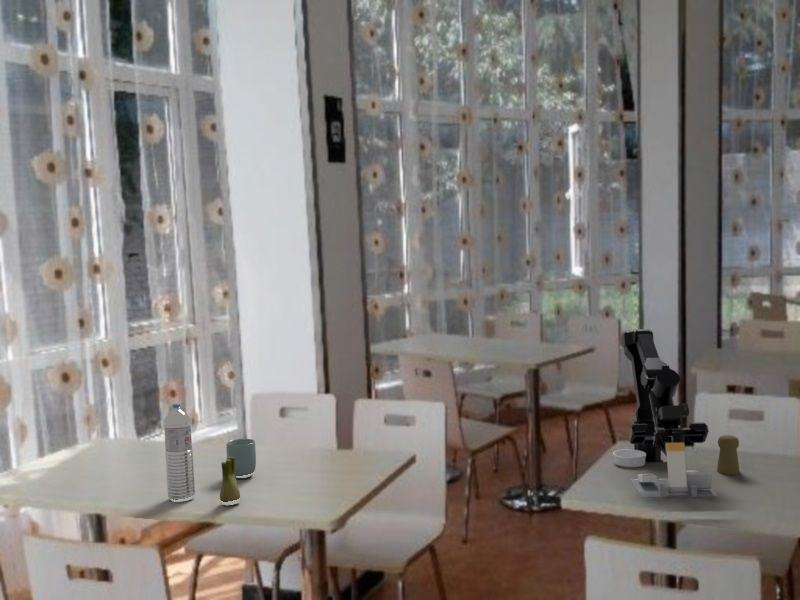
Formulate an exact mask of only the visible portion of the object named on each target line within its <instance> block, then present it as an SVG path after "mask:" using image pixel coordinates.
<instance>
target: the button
mask: <svg viewBox="0 0 800 600" xmlns="http://www.w3.org/2000/svg"><path fill="white" fill-rule="evenodd" d="M686 472H699V471H698V470H694V469H692V470H691V469H690V470H689V469H686Z"/></svg>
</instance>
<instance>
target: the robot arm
mask: <svg viewBox="0 0 800 600" xmlns="http://www.w3.org/2000/svg"><path fill="white" fill-rule="evenodd" d="M654 339H655V337H654V332H653V330H651V329H649V328H645V329H634V330H628V331H627V330H626V331H624V332H623V333H622V334H621V336H620V345H621V348H623V353H624V354H623V355H625V357H626V358H627V360H629V361H630V363H631V369H632V371H631V372H632V378H633V383H634V386H633V387H634V392H635V399H636V408H637V410H636V412H635V414H634V416H633V418H632V422H631V425H630V428H629V433H628V439H629V441H628V442H629V444H631V445H634V446H633V447H634V448H633V450H640V451H643V452H645V453H646V457H645V463H663V462H664V460H663V459H662V453H663V454H664V456H665V457H666V458H667V451H666V443H685V439H686V438H687V441H688V442H690V443H691V444H703V443H704V442H706V439H707V437H708V434H709V431H710V430H709V427H708V424H707V423H706V422H704V421H703V422H690V423H689V426H688V427H681V428H680V427H679V426H681V425H682V419H683V418H687V417H689V416H690V408H689V404H688V403H687V402H685V403H684V402H681V403H679V404H677V405H676V404H674V403H675V402H674V399H673V398H674V397H675V396H676V393H677V390H678V387H679V385H680V380H681V377H680V375H679V374H678V372H677V371H676V370H673V369H671V368H670V365H668V364H667V363H666V362H665V361H663V360H661V359H660V356H659V353H658V349H657V348H656V345H655V340H654ZM669 437H671V441H670V438H669Z"/></svg>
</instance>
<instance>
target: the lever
mask: <svg viewBox="0 0 800 600" xmlns="http://www.w3.org/2000/svg"><path fill="white" fill-rule="evenodd" d="M685 447H686V446H685V442H683V443H671V442H670V443H666V451H667V457H666V461H667V462H666V463H667V464H666V465H667V478H668V481H669V486H668V493H669V494H671V493H688V486H687V481H686V471H687V469H686V455H685V451H686V448H685Z"/></svg>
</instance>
